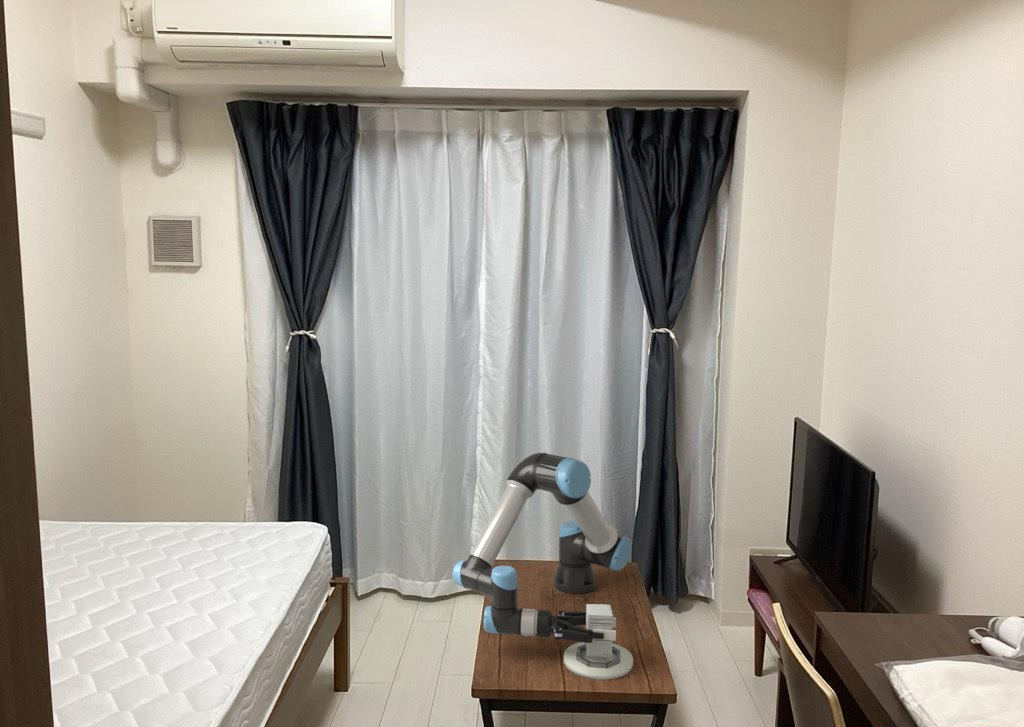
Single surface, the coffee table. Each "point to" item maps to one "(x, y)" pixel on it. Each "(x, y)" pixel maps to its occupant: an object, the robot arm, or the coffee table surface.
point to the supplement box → (599, 619)
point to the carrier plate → (598, 673)
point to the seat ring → (597, 664)
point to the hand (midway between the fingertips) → (615, 628)
